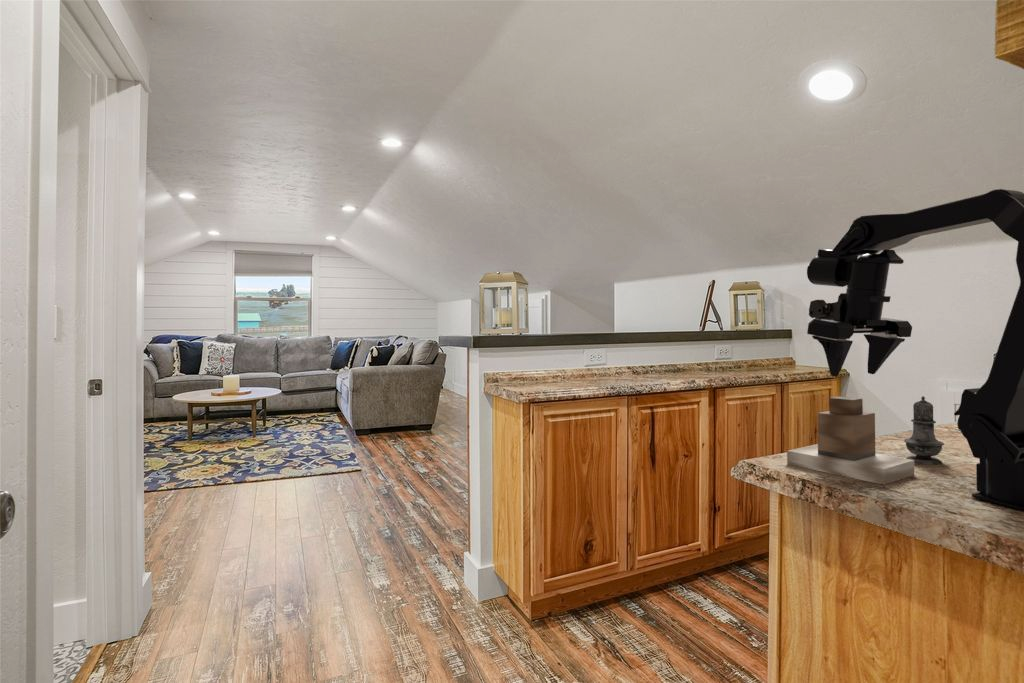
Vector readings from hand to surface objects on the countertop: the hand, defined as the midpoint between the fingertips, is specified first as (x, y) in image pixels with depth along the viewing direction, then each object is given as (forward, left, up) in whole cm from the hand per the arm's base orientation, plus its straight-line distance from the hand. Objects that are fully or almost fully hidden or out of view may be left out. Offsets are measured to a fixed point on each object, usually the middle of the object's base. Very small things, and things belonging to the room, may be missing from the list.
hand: (852, 374), depth 95 cm
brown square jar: (-2, +4, -14) cm, 15 cm away
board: (-2, +4, -16) cm, 17 cm away
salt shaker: (-3, -13, -17) cm, 21 cm away
